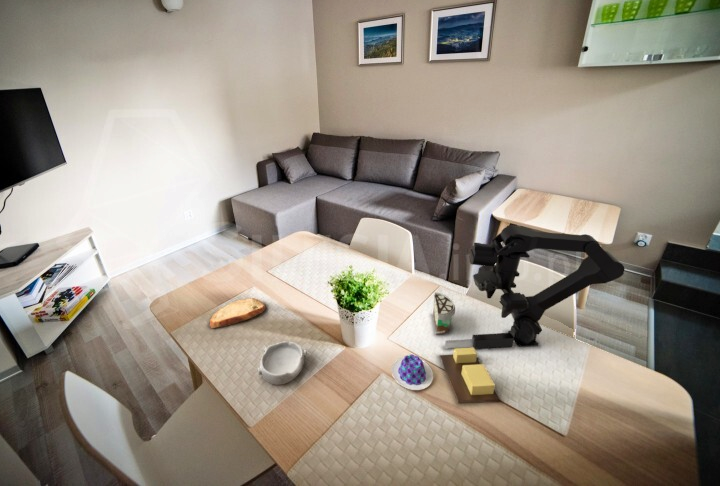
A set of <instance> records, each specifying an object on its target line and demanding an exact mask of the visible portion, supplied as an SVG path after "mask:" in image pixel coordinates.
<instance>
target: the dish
mask: <svg viewBox="0 0 720 486" xmlns="http://www.w3.org/2000/svg"><path fill="white" fill-rule="evenodd" d="M307 356H308V351H307V349H306V348H305V349H303V348H302V347H301V345H299V344H298V343H297V342H294V341H288V340H283V341H279V342H277V343H274V344H271V345H269V346H266V347H264V349H263V354H262V355H261V358H260V361H259V362H260V363H259V366H257V373H258V375H259V376H260V375H261V376H262V378H263V380H264V381H265V382H267V383H269V384H272V385H284V384H287V383H289V382H292V381H293V380H294V379H295V378H296V377H298V375H299V374H300V373H301V372H302V370H303V368H304V365H305V364H304V363H305V358H307Z"/></svg>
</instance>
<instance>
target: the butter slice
mask: <svg viewBox="0 0 720 486" xmlns="http://www.w3.org/2000/svg"><path fill="white" fill-rule="evenodd" d="M452 355H453V358H454V360H455V362H456V363H469V362H476V358H478V352H477V351H476V350H475V349H474V347H468V348H453V354H452Z"/></svg>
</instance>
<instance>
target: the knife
mask: <svg viewBox="0 0 720 486" xmlns="http://www.w3.org/2000/svg"><path fill="white" fill-rule="evenodd" d="M514 343H515V342H514V337H513V336H512V334H511V333H508V332H495V333H482V334H481V333H480V334H472V336H471V338H467V339H451V340H450V339H449V340H445V342H444V349H446V350H448V349H450V350H451V349H456V348H473V347H474V349H475V351H476V350H492V349H494V350H495V349H507V348H508V349H509V348H510V349H511V348H513V346H514Z"/></svg>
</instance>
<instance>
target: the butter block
mask: <svg viewBox="0 0 720 486" xmlns="http://www.w3.org/2000/svg"><path fill="white" fill-rule="evenodd" d="M461 374H462V376H463V378H464V380H465V383H466V385H467V387H468V389H469V391H470V393H471V395H483V394H493V392H494V389H495V388H496V384H495V383H494V381H493V379H492V377H491V375H490V374H489V371H488V370H487V368H486V366H485V364H484V363H480V364H477V365H463V366H462V373H461Z"/></svg>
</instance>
